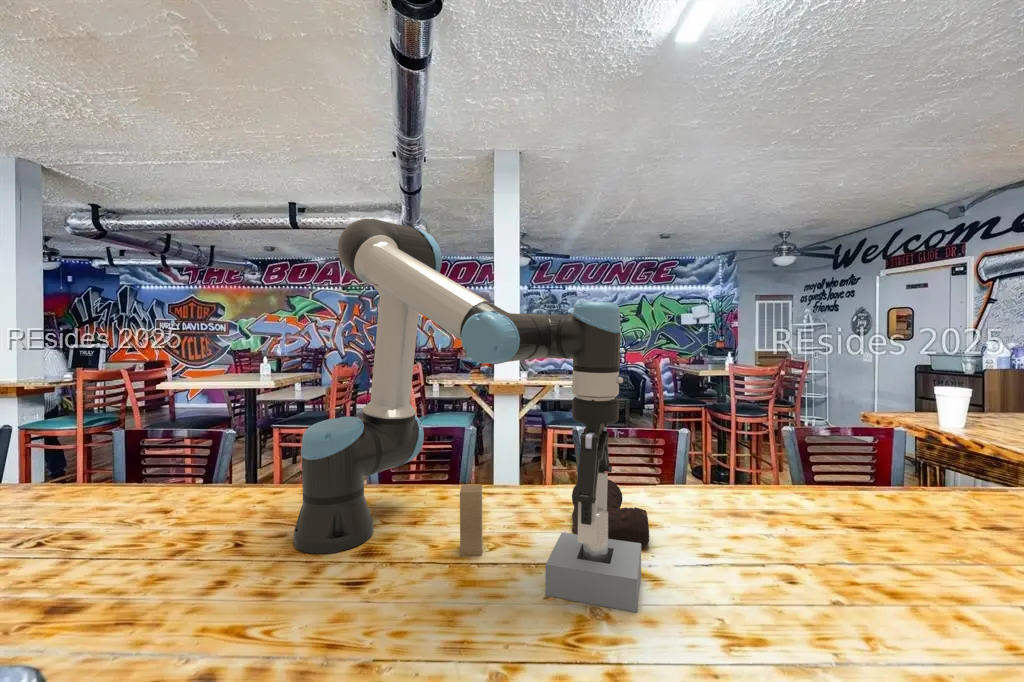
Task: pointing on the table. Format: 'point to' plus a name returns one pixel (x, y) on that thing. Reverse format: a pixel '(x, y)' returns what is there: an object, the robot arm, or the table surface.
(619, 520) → the pipe
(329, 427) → the robot arm
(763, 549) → the table surface
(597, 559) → the cylinder
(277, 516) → the table surface
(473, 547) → the square bit
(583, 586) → the socket block
